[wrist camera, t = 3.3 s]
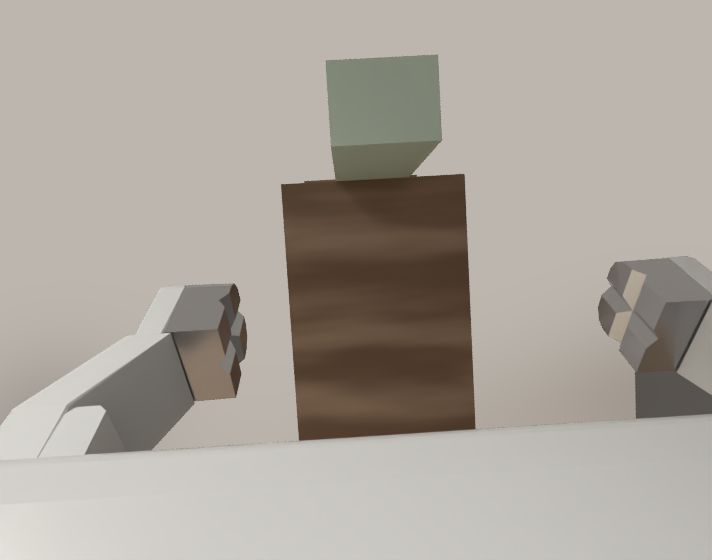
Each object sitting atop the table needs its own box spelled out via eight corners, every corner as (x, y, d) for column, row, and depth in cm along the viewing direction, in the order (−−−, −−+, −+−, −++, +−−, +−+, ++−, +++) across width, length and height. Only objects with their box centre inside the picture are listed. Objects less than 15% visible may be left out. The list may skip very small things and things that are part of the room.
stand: (521, 644, 26) (502, 122, 24) (278, 663, 26) (238, 137, 24) (448, 479, 45) (433, 177, 43) (306, 489, 45) (285, 186, 43)
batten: (442, 140, 17) (438, 54, 16) (330, 146, 16) (325, 60, 16) (389, 199, 37) (387, 161, 36) (338, 202, 36) (336, 164, 36)
